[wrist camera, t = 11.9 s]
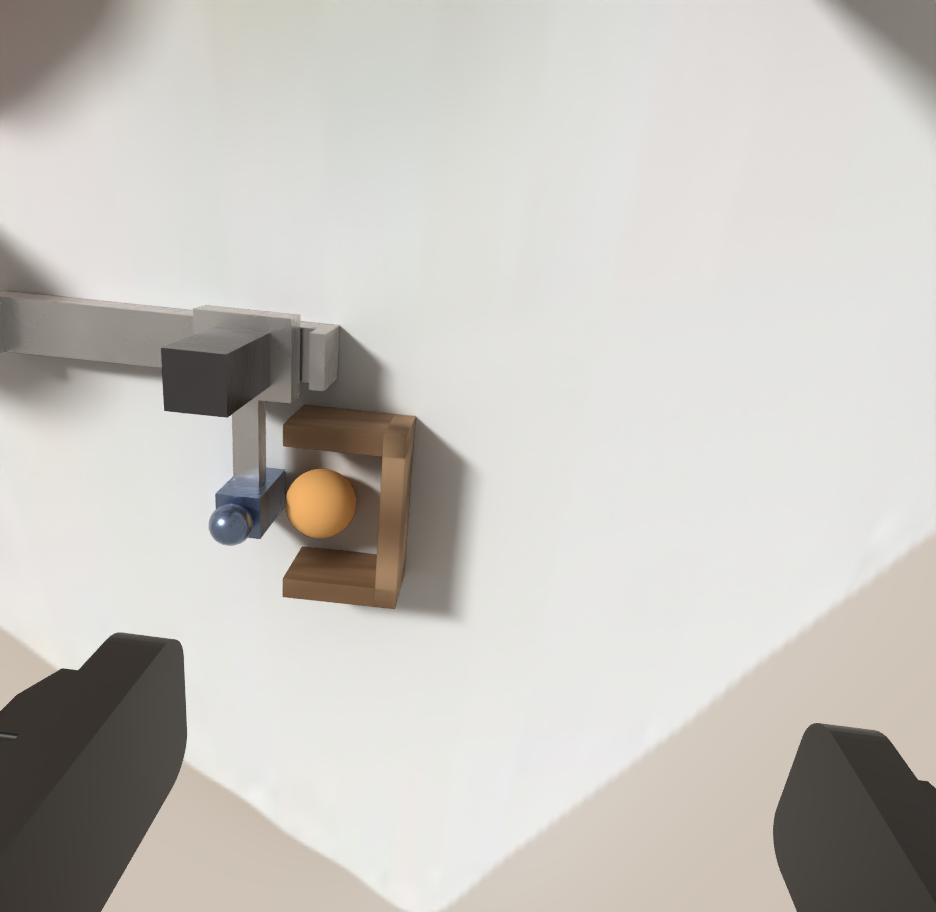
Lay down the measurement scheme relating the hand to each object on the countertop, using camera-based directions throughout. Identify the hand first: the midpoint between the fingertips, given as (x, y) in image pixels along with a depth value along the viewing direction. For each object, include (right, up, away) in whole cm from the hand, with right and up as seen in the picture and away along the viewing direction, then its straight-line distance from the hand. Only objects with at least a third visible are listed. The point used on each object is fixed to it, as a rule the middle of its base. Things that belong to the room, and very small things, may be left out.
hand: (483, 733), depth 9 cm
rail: (-17, +10, +30) cm, 36 cm away
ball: (-9, +1, +30) cm, 32 cm away
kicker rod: (-12, +6, +30) cm, 33 cm away
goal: (-7, +1, +32) cm, 33 cm away
